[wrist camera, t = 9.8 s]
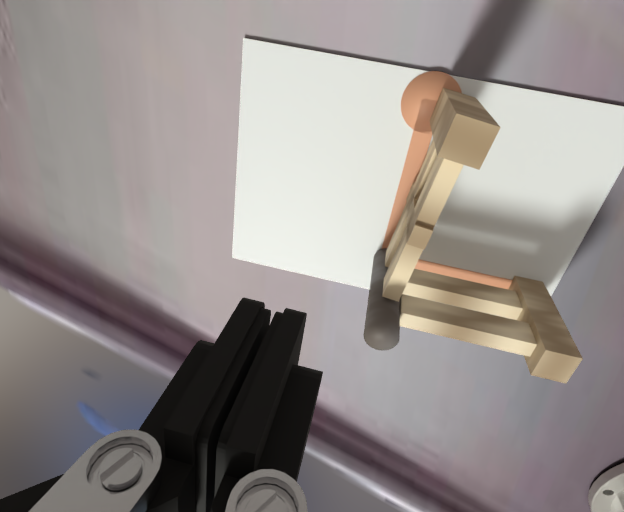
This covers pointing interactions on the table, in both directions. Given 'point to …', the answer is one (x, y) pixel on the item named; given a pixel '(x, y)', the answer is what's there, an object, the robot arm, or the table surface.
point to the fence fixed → (475, 317)
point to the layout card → (410, 170)
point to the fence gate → (437, 180)
